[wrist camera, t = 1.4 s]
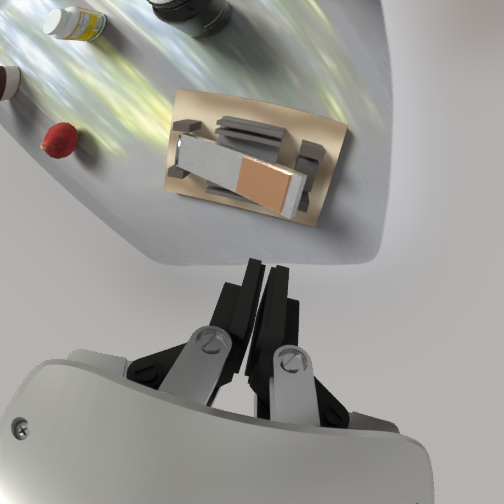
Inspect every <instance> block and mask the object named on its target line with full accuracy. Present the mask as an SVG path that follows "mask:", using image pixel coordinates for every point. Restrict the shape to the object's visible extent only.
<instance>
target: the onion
mask: <svg viewBox="0 0 504 504" xmlns="http://www.w3.org/2000/svg"><path fill="white" fill-rule="evenodd" d="M77 144H78V133H77V130H76V129H75V127H74V126H72V125H71V124H69V123H64V122H63V123H58V124H56V125H54V126H52V127H51V128H50V129H49V130H48V132H47V134H46V135H45V138H44V143H43V142H42V143H41V145H40V147H41V149H42V150H45V151H46V153H47V154H48V155H49V156H50V157H52V158H56V159H60V158H63V157H67V156H68V155H70V154H71V153H72V152H73V151H74V149H75V148H76V146H77Z"/></svg>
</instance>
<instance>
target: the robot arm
mask: <svg viewBox="0 0 504 504" xmlns="http://www.w3.org/2000/svg"><path fill="white" fill-rule="evenodd" d="M261 262H262V261H260V260H256V259H252V258H250V259H249V262H248V266H247V269H246V273H245V277H244V280H243V283H242V286H239V285H235V284H231V283H227V282H225V284H224V287H223V289H222V292H221V294H220V297H219V300H218V303H217V305H216V308H215V311H214V313H213V316H212V319H211V322H210V324H209V326H204V327H201V328H199V329H197V330H196V331H195V332H194V333H193V334H192V336H191V338H190V339H189V341H188V342H187V343H185V344H181V345H179V346H176V347H173V348H170V349H167V350H164V351H161V352H158V353H155V354H152V355H149V356H146V357H143V358H140V359H137V360H135V361H127V359H126V358H124V357H118V356H113V355H107V354H103V353H98V352H93V351H89V350H83V349H78V350H75V351H73V352H72V353H70V354H69V356H68V358H67V360H64V359H53V360H46V361H44V362H42V363H40V364H39V365H37V366H36V367H35V368H34V369H33V370H32V371H31V372H30V373H29V374H28V376H27V377H26V378H25V379H24V381H23V382H22V384H21V385H20V386H19V388H18V389H17V391H16V393H15V394H14V396H13V397H12V399H11V401H10V402H9V404H8V406H7V408H6V410H5V412H4V414H3V416H2V418H1V420H0V504H434V482H433V472H432V467H431V462H430V458H429V455H428V452H427V450H426V449H425V447H424V446H423V445H422V444H421V443H419V442H418V441H416V440H414V439H412V438H410V437H407V436H404V435H401V434H400V432H399V430H398V427H397V426H396V425H395V424H394V423H391V422H389V421H385V420H381V419H378V418H374V417H371V416H367V415H364V414H360V413H357V412H352V413H349V412H348V411H347V410H346V409H345V407H344V406H343V405H342V404H341V403H340V402H339V401H338V400H337V399H336V398H335V397H334V396H333V395H332V394H331V393H330V392H329V391H328V390H327V389H326V388H325V387H324V386H323V385H322V384H321V383H320V382H319V381H318V380H317V379H316V377H315V376H314V375H313V368H312V362H311V359H310V356H309V355H308V354H307V352H305V351H304V350H303V349H302V348H300V347H298V331H299V329H298V328H299V301H298V300H294V299H290V298H287V294H288V280H289V268H287V267H284V266H279V265H277V266H276V268H274V267H271V270H270V273H269V276H268V280H267V283H266V286H265V289H264V293H263V296H262V299H261V302H260V305H259V309H258V312H257V307H258V302H259V297H260V292H261V287H262V282H263V277H264V272H265V267H266V265H263V264H261ZM256 312H257V316H256ZM255 317H256V321H255ZM254 322H255V326H254ZM253 327H254V331H253ZM252 331H253V336H252V341H251V346H250V350H249V355H248V360H247V365H246V370H245V376H249V379H248V383H249V384H250V387H251V388H252V389H253V391H254V392H255V395H254V417H250V416H245V415H241V414H236V413H232V412H227V411H223V410H219V409H216V408H212V406H213V404H214V402H215V399H216V397H217V395H218V393H219V391H220V388H221V386H223V385H225V384H227V383H229V382H231V381H232V378H233V375H234V373H237V374H238V373H239V370H240V367H241V364H242V361H243V358H244V355H245V352H246V349H247V346H248V343H249V340H250V337H251V334H252Z"/></svg>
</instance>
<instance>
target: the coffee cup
mask: <svg viewBox="0 0 504 504" xmlns="http://www.w3.org/2000/svg"><path fill="white" fill-rule="evenodd" d="M19 82H20V71H19V69H18V67H16V66H7V67H3V66H0V101H3V100H6V99H9V98H11V97H13V96H14V95H15V93H16V91H17V89H18V86H19Z"/></svg>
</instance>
